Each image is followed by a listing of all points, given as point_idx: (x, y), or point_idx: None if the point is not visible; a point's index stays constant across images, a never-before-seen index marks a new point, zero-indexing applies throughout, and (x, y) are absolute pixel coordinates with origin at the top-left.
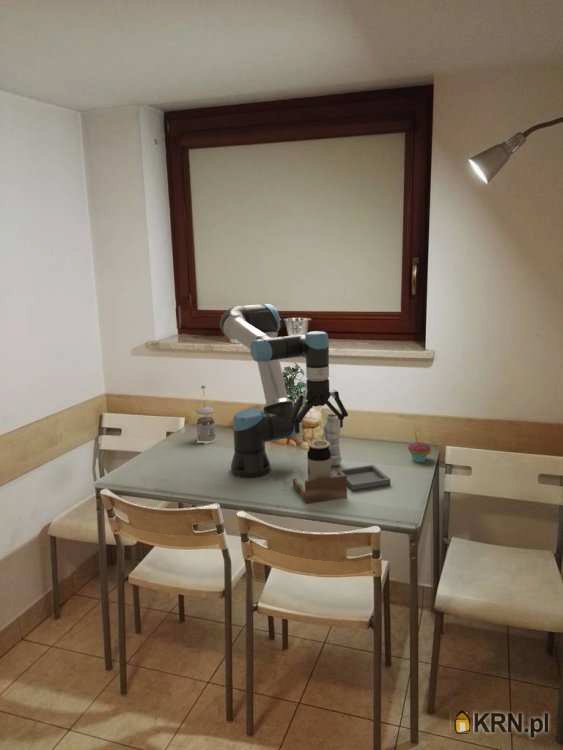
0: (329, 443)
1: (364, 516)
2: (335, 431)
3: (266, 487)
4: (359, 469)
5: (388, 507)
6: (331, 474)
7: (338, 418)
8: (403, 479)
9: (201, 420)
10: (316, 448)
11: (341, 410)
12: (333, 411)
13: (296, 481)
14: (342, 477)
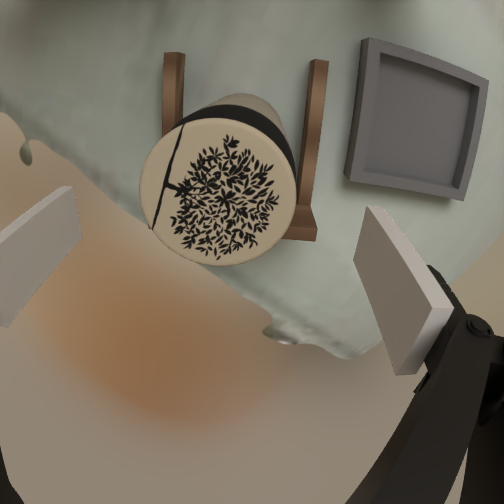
0: (285, 228)
1: (288, 307)
2: (378, 221)
3: (93, 41)
4: (441, 71)
5: (365, 292)
6: (324, 73)
7: (434, 342)
8: (497, 177)
9: None
10: (177, 249)
11: (485, 426)
12: (370, 470)
13: (167, 81)
14: (296, 237)
